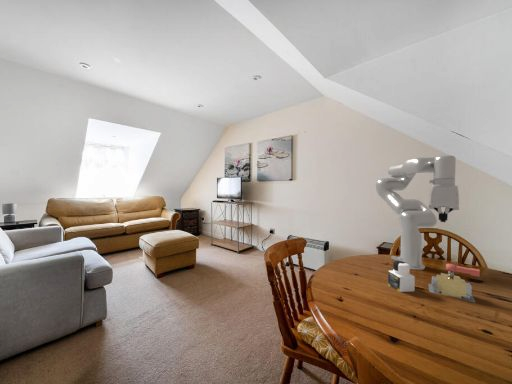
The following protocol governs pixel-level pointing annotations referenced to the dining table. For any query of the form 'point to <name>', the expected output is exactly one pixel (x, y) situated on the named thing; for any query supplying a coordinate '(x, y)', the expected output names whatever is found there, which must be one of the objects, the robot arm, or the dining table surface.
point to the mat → (450, 296)
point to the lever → (463, 270)
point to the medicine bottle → (401, 277)
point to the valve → (451, 285)
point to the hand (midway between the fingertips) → (442, 221)
